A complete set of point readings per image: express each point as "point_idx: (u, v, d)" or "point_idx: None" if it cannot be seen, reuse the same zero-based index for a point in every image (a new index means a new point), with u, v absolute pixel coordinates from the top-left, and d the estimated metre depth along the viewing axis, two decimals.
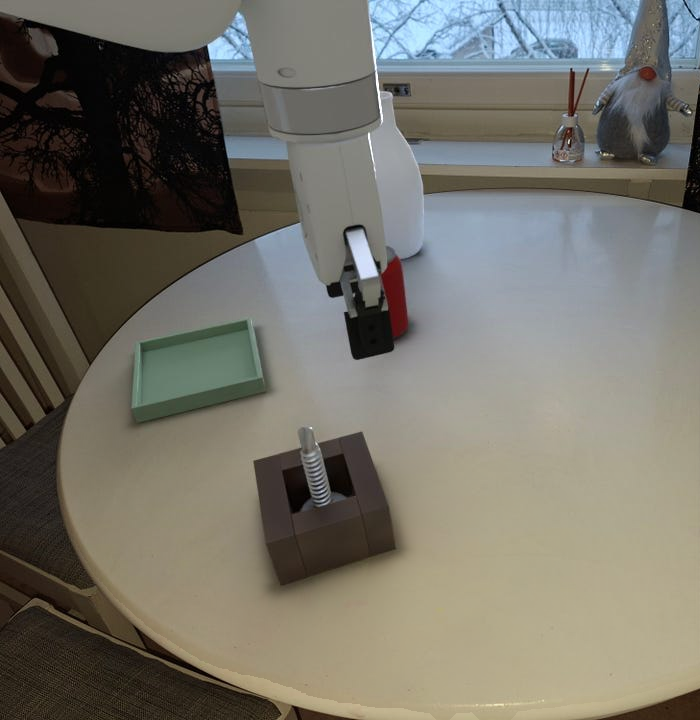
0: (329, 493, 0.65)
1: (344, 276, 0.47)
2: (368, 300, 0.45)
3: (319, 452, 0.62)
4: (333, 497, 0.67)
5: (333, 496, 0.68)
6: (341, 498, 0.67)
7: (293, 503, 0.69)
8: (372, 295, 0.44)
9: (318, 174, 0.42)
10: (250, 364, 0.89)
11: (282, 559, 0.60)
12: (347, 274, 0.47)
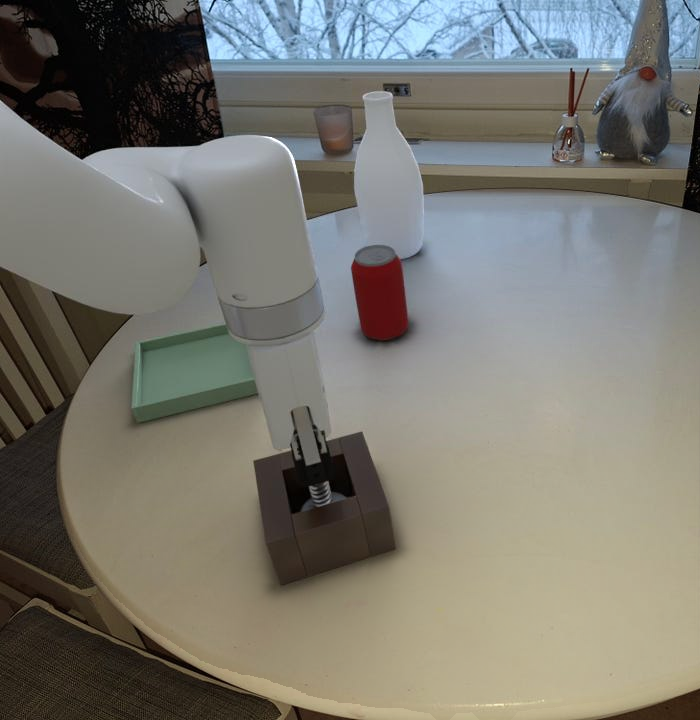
0: (329, 493, 0.65)
1: (293, 438, 0.57)
2: None
3: None
4: (333, 497, 0.67)
5: (333, 496, 0.68)
6: (341, 498, 0.67)
7: (293, 503, 0.69)
8: None
9: (267, 372, 0.50)
10: None
11: (282, 559, 0.60)
12: (295, 436, 0.57)
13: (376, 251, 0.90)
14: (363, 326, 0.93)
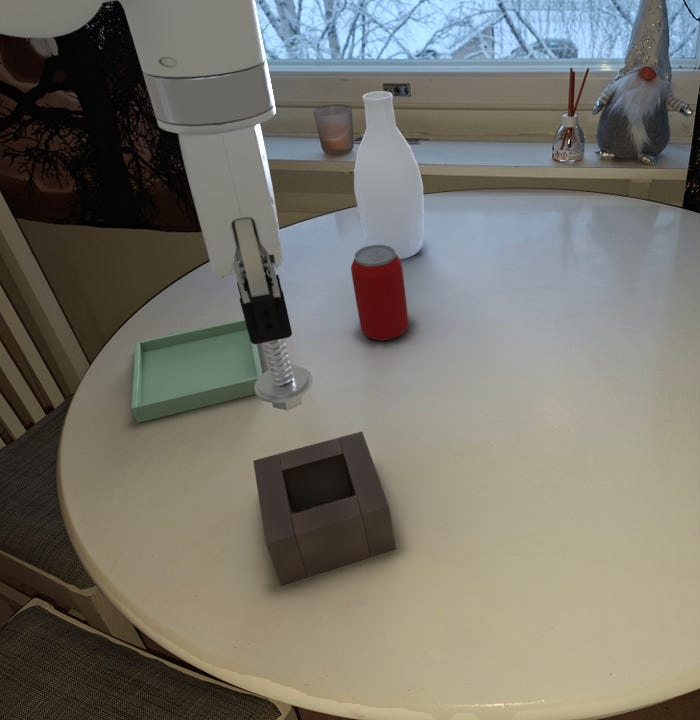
0: (287, 359, 0.57)
1: (239, 272, 0.49)
2: None
3: None
4: (293, 369, 0.59)
5: (293, 368, 0.59)
6: (302, 370, 0.59)
7: (293, 503, 0.69)
8: None
9: (201, 165, 0.42)
10: (250, 364, 0.89)
11: (282, 559, 0.60)
12: (242, 270, 0.49)
13: (376, 251, 0.90)
14: (363, 326, 0.93)
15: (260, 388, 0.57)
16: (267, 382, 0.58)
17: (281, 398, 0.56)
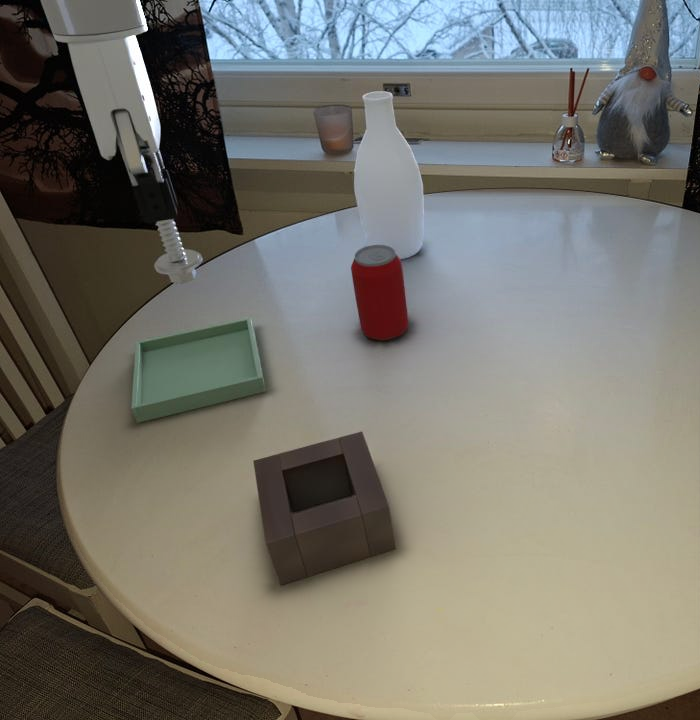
0: (179, 240, 0.71)
1: (126, 158, 0.63)
2: (139, 174, 0.63)
3: None
4: (187, 252, 0.73)
5: (188, 251, 0.74)
6: (194, 253, 0.73)
7: (293, 503, 0.69)
8: (141, 173, 0.62)
9: (83, 66, 0.56)
10: (250, 364, 0.89)
11: (282, 559, 0.60)
12: None
13: (376, 251, 0.90)
14: (363, 326, 0.93)
15: (158, 264, 0.72)
16: (164, 260, 0.72)
17: (173, 270, 0.71)
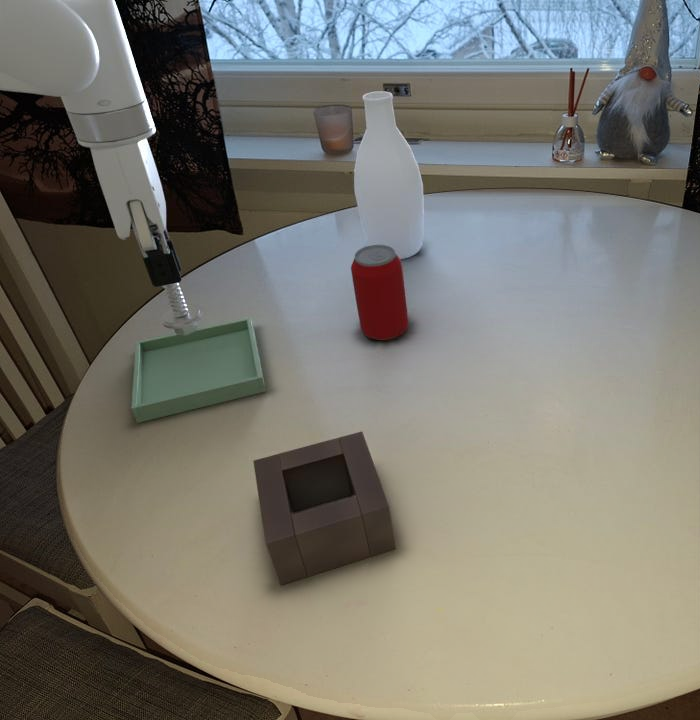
0: (182, 299, 0.83)
1: (138, 236, 0.74)
2: None
3: None
4: (189, 307, 0.85)
5: (189, 307, 0.85)
6: (195, 308, 0.85)
7: (293, 503, 0.69)
8: None
9: (103, 167, 0.68)
10: (250, 364, 0.89)
11: (282, 559, 0.60)
12: None
13: (376, 251, 0.90)
14: (363, 326, 0.93)
15: (164, 319, 0.83)
16: (170, 315, 0.84)
17: (178, 325, 0.82)
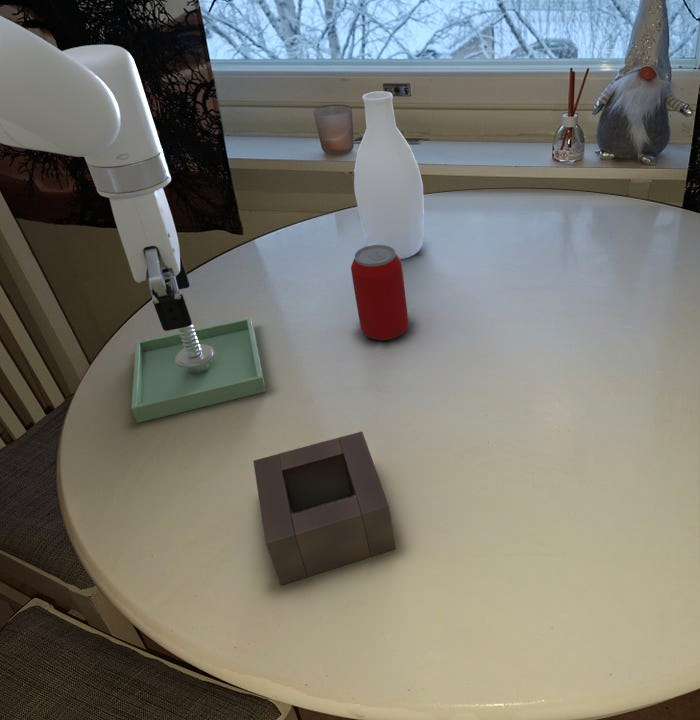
0: (196, 339, 0.86)
1: None
2: (159, 292, 0.73)
3: None
4: (202, 347, 0.88)
5: (202, 346, 0.88)
6: (208, 347, 0.88)
7: (293, 503, 0.69)
8: (160, 289, 0.73)
9: (122, 216, 0.71)
10: (250, 364, 0.89)
11: (282, 559, 0.60)
12: None
13: (376, 251, 0.90)
14: (363, 326, 0.93)
15: (178, 359, 0.86)
16: (184, 355, 0.87)
17: (192, 365, 0.86)
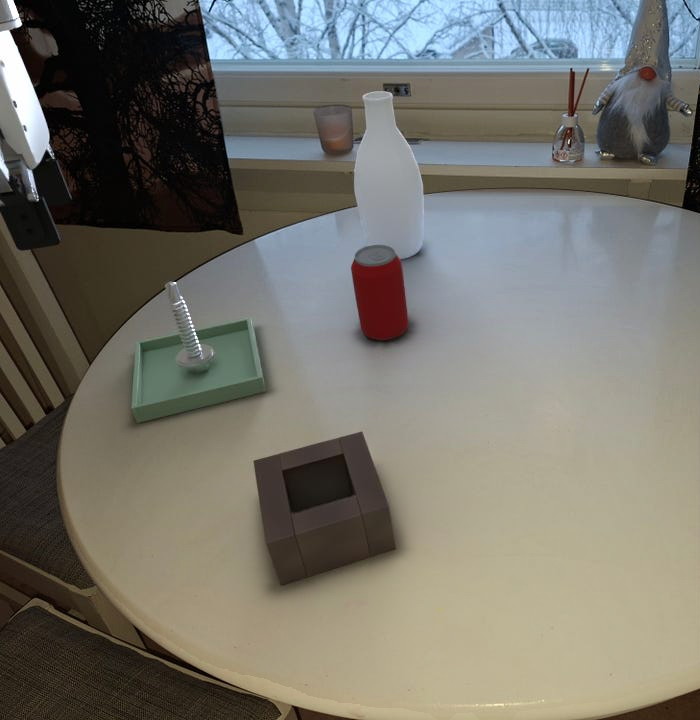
0: (196, 339, 0.86)
1: None
2: None
3: (183, 303, 0.83)
4: (202, 347, 0.88)
5: (202, 346, 0.88)
6: (208, 347, 0.88)
7: (293, 503, 0.69)
8: None
9: None
10: (250, 364, 0.89)
11: (282, 559, 0.60)
12: None
13: (376, 251, 0.90)
14: (363, 326, 0.93)
15: (178, 359, 0.86)
16: (184, 355, 0.87)
17: (192, 365, 0.86)
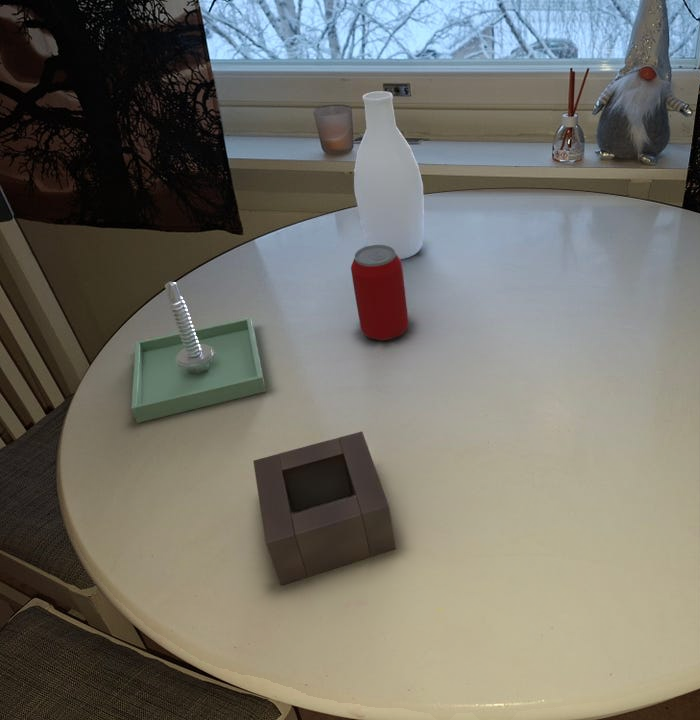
0: (196, 339, 0.86)
1: None
2: None
3: (183, 303, 0.83)
4: (202, 347, 0.88)
5: (202, 346, 0.88)
6: (208, 347, 0.88)
7: (293, 503, 0.69)
8: None
9: None
10: (250, 364, 0.89)
11: (282, 559, 0.60)
12: None
13: (376, 251, 0.90)
14: (363, 326, 0.93)
15: (178, 359, 0.86)
16: (183, 355, 0.87)
17: (192, 365, 0.86)
